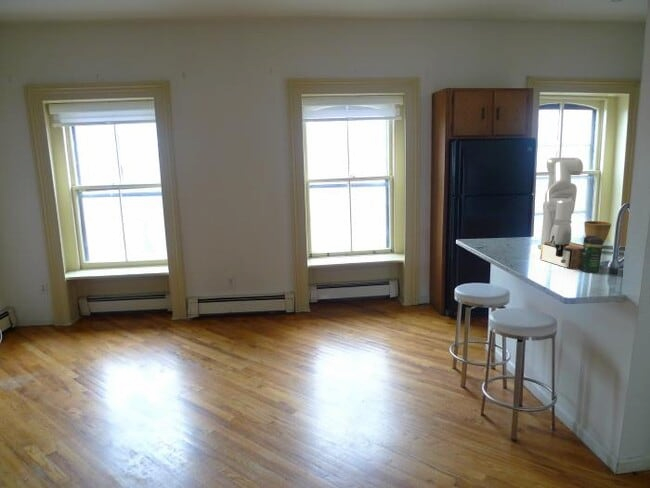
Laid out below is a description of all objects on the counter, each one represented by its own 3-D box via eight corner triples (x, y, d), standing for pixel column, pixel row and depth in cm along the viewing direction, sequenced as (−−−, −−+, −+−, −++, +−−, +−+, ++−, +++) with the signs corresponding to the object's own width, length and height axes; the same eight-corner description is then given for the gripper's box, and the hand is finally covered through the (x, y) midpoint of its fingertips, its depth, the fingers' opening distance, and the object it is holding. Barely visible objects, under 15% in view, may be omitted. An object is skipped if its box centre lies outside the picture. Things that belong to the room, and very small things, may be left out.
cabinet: (561, 257, 257) (563, 240, 255) (591, 266, 239) (593, 247, 237) (542, 259, 253) (544, 242, 251) (571, 268, 235) (573, 249, 232)
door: (541, 258, 254) (542, 244, 252) (568, 267, 236) (570, 251, 234) (537, 259, 253) (539, 244, 251) (564, 267, 235) (566, 251, 233)
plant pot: (598, 244, 293) (601, 220, 289) (613, 249, 278) (616, 224, 275) (576, 244, 293) (579, 220, 289) (590, 249, 278) (593, 224, 275)
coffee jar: (601, 273, 225) (606, 238, 221) (584, 272, 227) (588, 237, 223) (594, 268, 235) (598, 234, 231) (578, 267, 236) (582, 234, 232)
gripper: (568, 221, 239) (564, 254, 242) (545, 222, 235) (542, 255, 238) (579, 223, 231) (575, 257, 235) (556, 224, 228) (552, 258, 231)
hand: (558, 256), depth 237 cm, fingers closed
